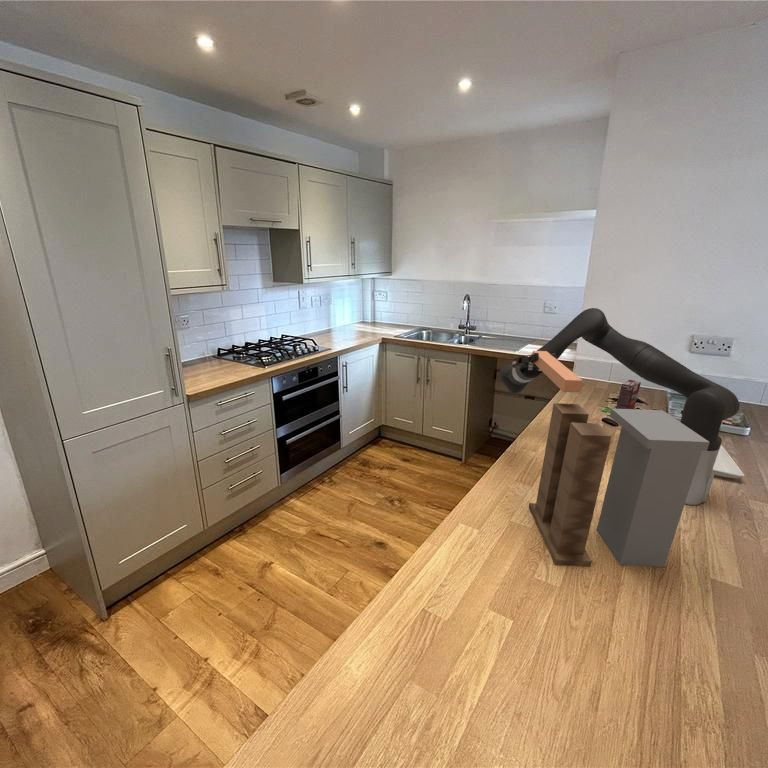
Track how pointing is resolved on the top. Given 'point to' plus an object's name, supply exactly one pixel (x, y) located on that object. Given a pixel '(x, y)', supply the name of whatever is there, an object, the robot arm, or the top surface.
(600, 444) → the gate
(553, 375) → the beam
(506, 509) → the top surface
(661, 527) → the pedestal
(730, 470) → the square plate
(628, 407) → the supplement box
